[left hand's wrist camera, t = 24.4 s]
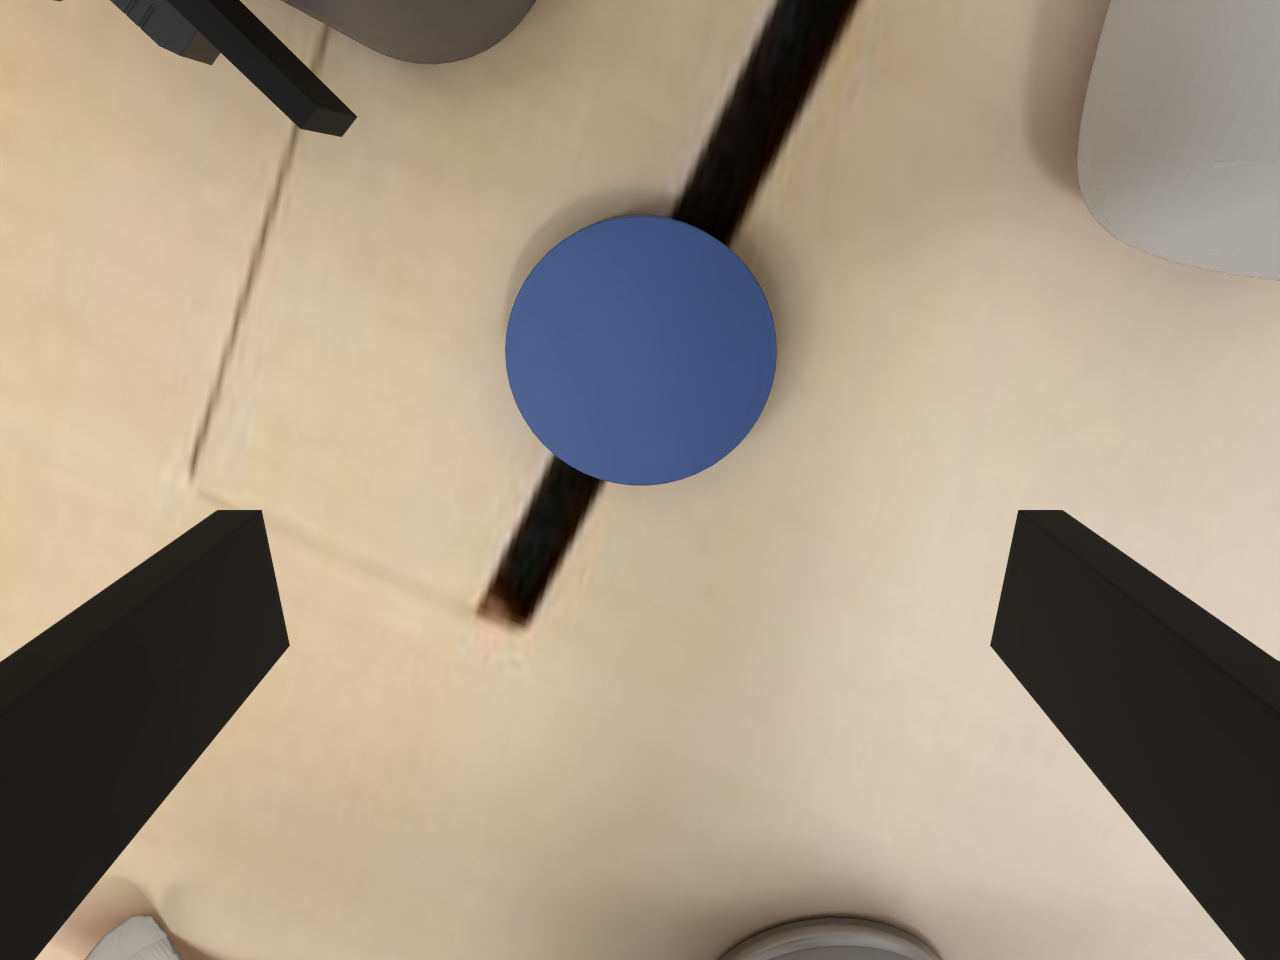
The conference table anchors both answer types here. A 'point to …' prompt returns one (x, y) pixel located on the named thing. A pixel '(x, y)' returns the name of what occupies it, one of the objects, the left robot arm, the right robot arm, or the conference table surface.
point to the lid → (641, 350)
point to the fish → (135, 942)
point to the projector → (1187, 132)
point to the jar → (420, 25)
